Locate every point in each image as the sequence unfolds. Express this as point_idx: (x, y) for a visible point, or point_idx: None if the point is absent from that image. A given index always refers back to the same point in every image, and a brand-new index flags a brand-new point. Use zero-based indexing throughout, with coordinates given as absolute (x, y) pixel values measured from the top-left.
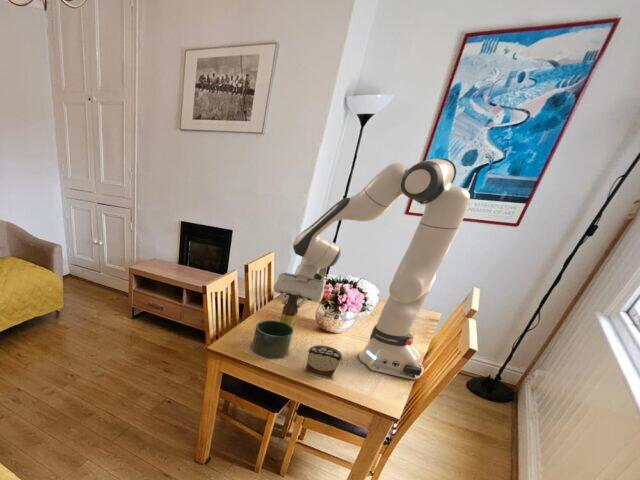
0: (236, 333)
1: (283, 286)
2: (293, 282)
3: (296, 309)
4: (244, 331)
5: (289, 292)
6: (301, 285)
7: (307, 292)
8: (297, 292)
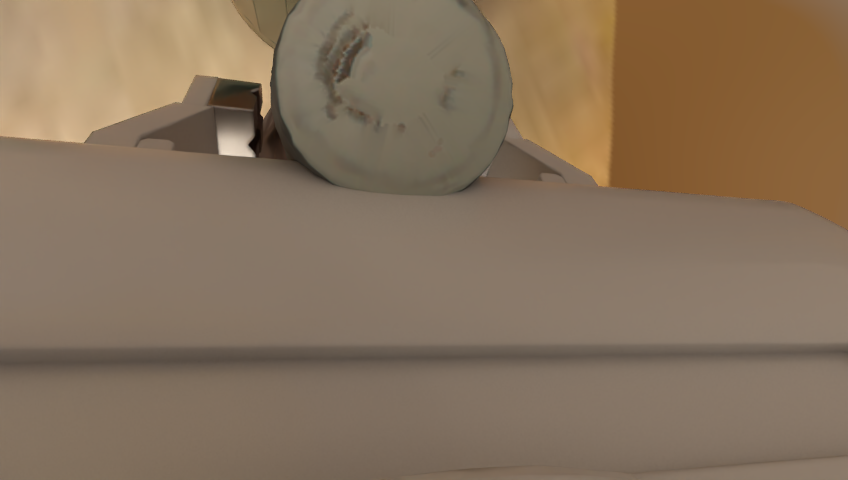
0: (602, 62)
1: (728, 252)
2: (650, 426)
3: (263, 140)
4: (575, 118)
5: (501, 43)
6: (336, 390)
7: (40, 203)
8: (338, 141)
